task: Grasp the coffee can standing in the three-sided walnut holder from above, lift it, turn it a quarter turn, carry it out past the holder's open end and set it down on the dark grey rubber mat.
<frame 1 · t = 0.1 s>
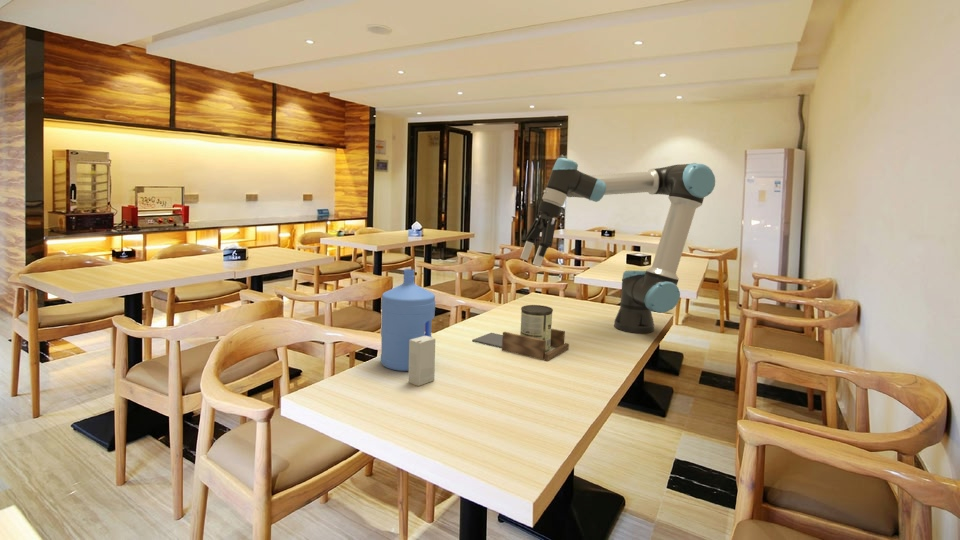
hand: (529, 262, 178), 28 cm above the table, tool tilted 20°, fingers open, 13 cm apart
coffee can: (534, 350, 173), on the table
skincare box: (421, 382, 141), on the table
water jug: (407, 363, 155), on the table
holder: (534, 349, 173), on the table
mat: (496, 340, 181), on the table
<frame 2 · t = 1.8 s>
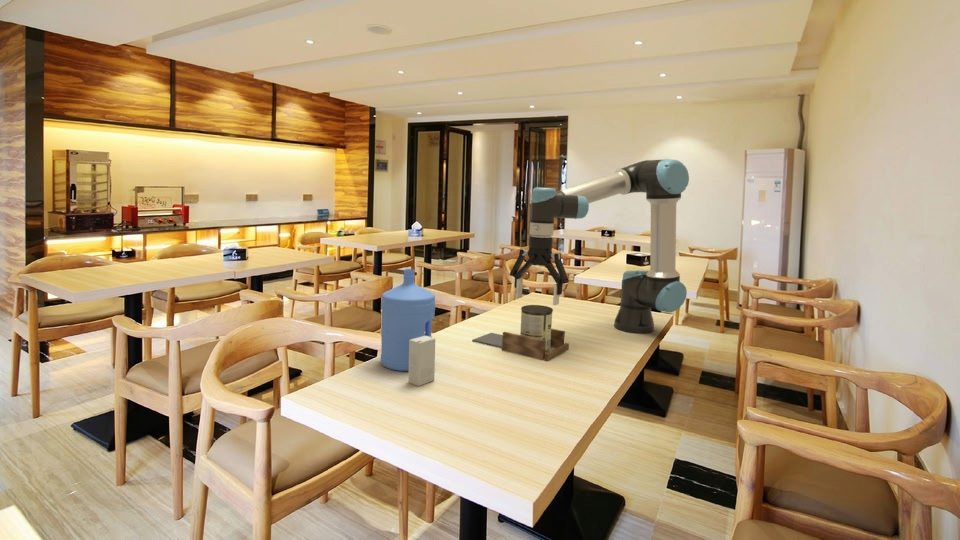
hand: (536, 301, 170), 16 cm above the table, tool pointing down, fingers open, 13 cm apart
nothing on the table moved.
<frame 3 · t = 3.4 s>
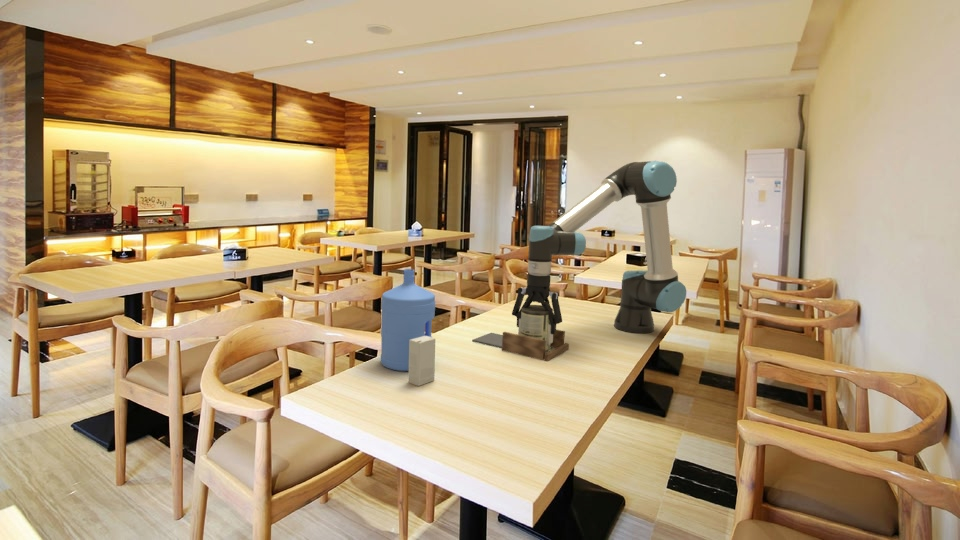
hand: (535, 340, 173), 3 cm above the table, tool pointing down, fingers closed on coffee can, 10 cm apart
coffee can: (534, 350, 173), on the table, touching gripper
everything else where it was.
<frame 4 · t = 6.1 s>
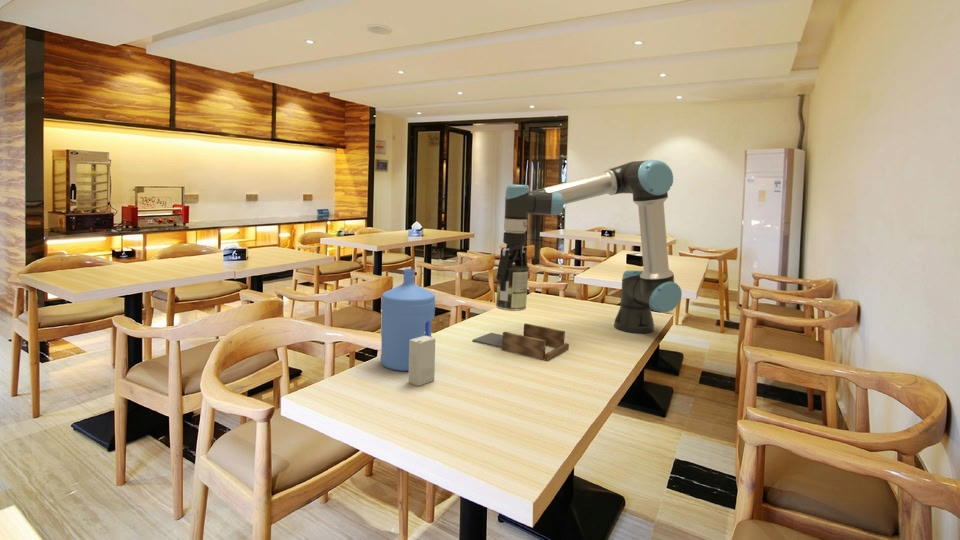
hand: (511, 297, 176), 16 cm above the table, tool pointing down, fingers closed on coffee can, 10 cm apart
coffee can: (511, 308, 176), point 13 cm above the table, touching gripper
everything else where it was.
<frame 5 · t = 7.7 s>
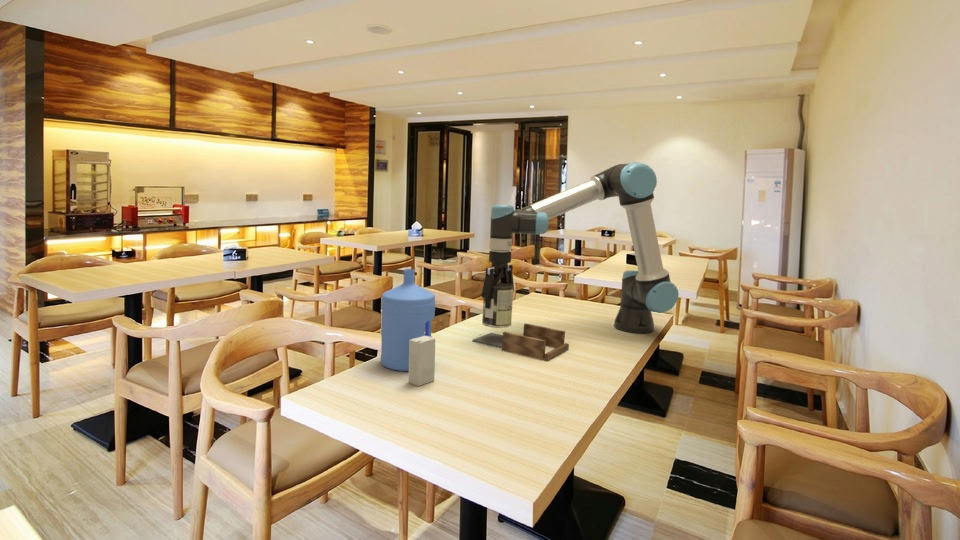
hand: (497, 314, 180), 9 cm above the table, tool pointing down, fingers closed on coffee can, 10 cm apart
coffee can: (496, 324, 180), point 6 cm above the table, touching gripper
everything else where it was.
when the fingers open (5 cm above the table, at t = 9.1 s): coffee can stays where it is, resting on mat.
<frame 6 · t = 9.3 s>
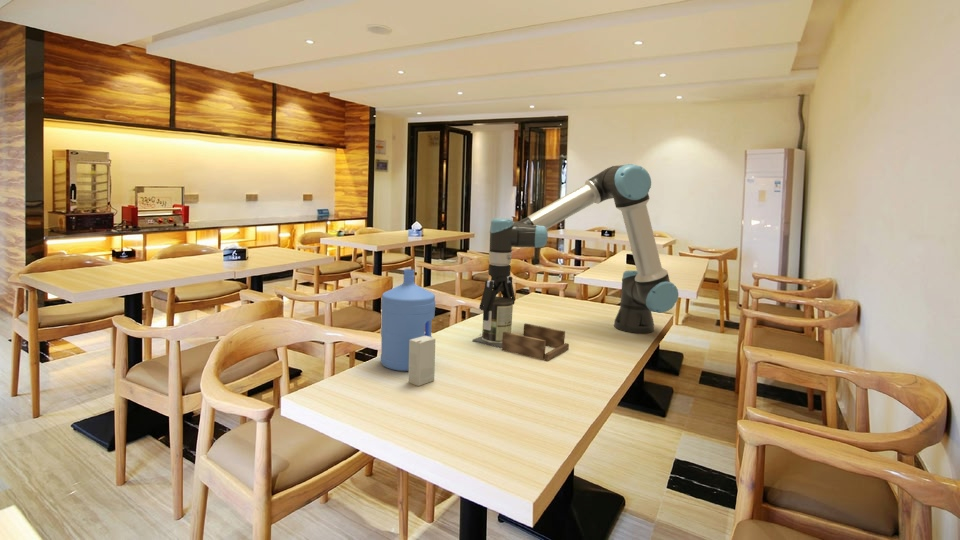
hand: (497, 325, 180), 5 cm above the table, tool pointing down, fingers open, 12 cm apart
coffee can: (496, 339, 181), resting on mat
everything else where it was.
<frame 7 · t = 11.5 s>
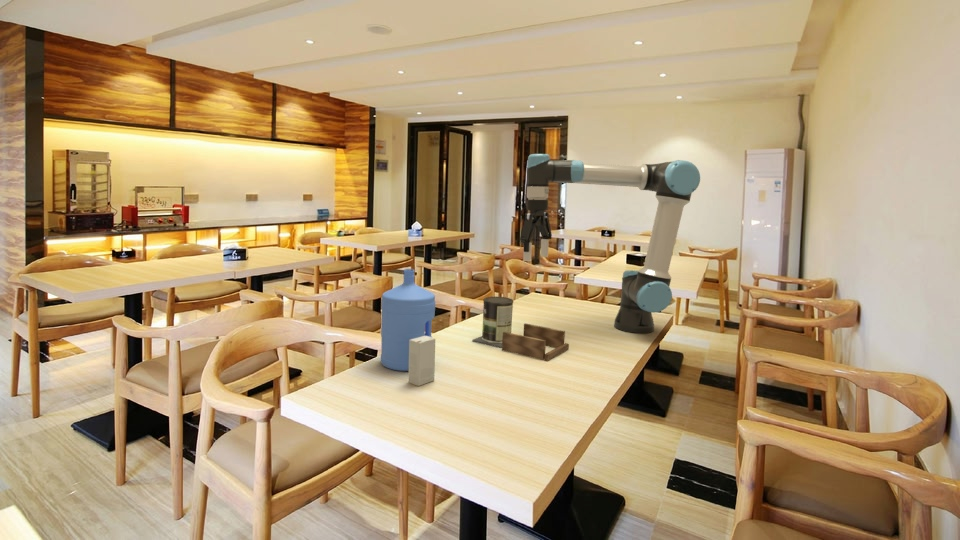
hand: (536, 259, 187), 28 cm above the table, tool pointing down, fingers open, 13 cm apart
nothing on the table moved.
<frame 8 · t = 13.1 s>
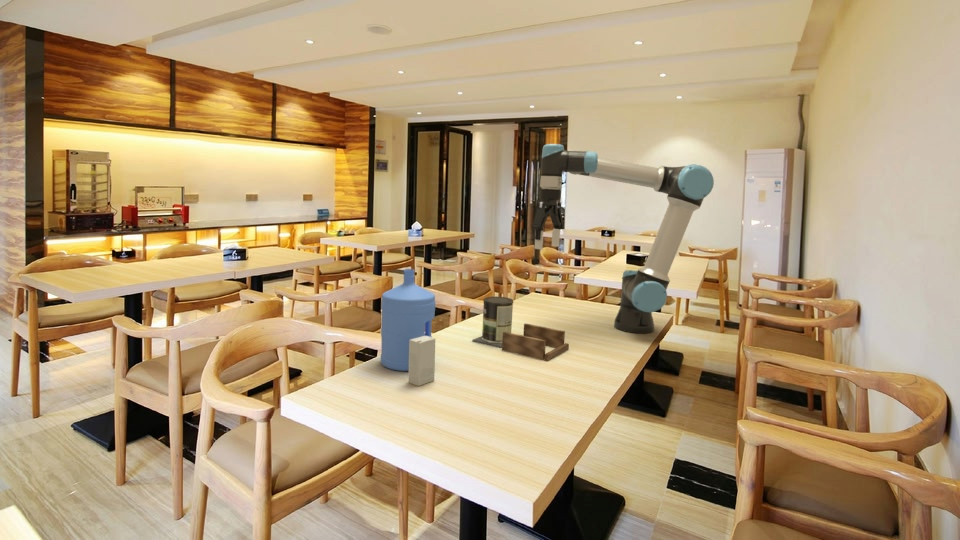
hand: (547, 247, 190), 32 cm above the table, tool pointing down, fingers open, 13 cm apart
nothing on the table moved.
at the end: coffee can inside the target area on the mat (0.1 cm from its centre), point 0.4 cm above the mat's base; coffee can tilted 0°; the gripper is holding nothing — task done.
